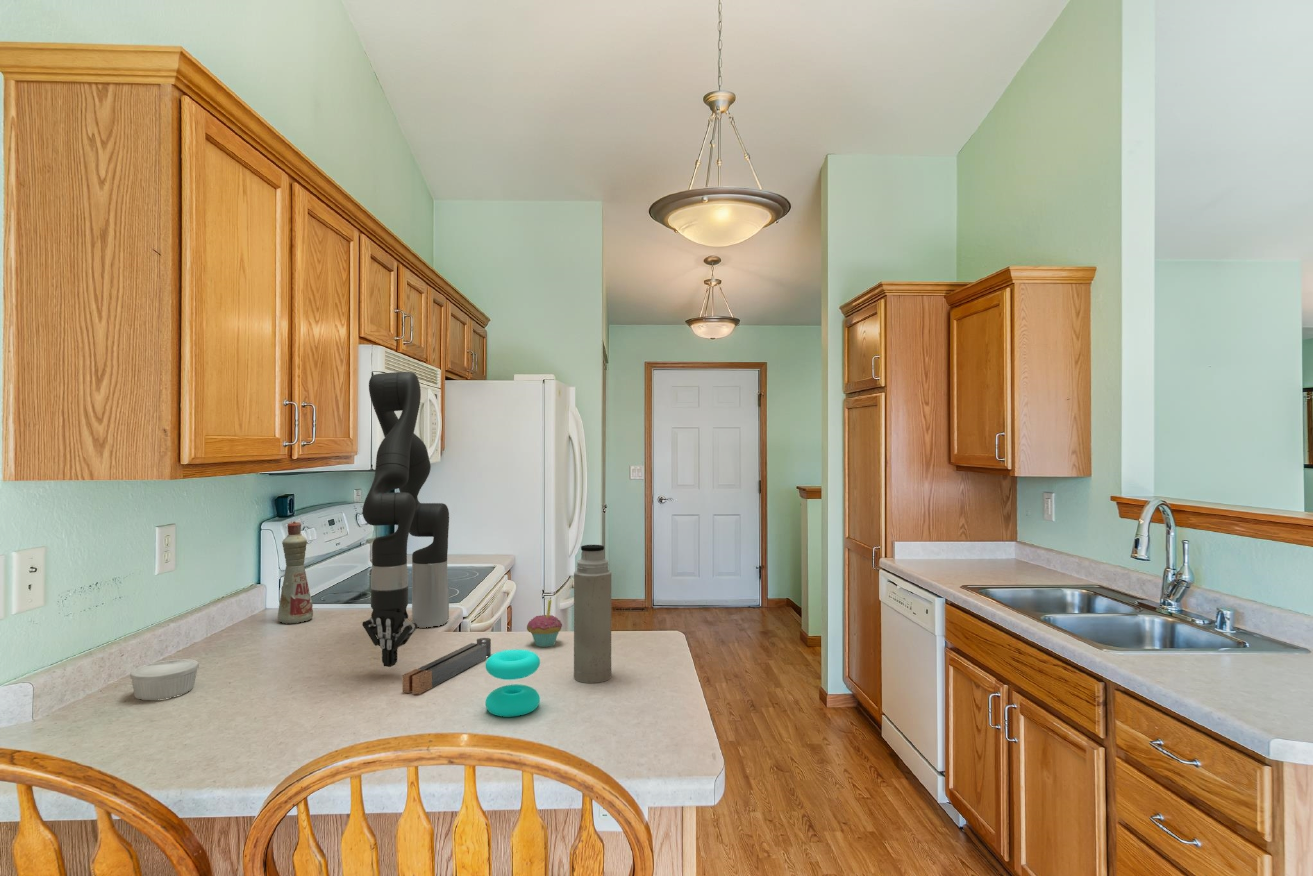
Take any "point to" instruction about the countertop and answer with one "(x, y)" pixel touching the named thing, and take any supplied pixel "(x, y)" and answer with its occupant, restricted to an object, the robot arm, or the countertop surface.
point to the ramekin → (164, 679)
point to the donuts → (512, 696)
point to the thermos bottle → (592, 616)
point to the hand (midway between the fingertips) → (389, 665)
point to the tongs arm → (408, 676)
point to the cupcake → (544, 628)
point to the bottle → (295, 579)
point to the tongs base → (451, 667)
